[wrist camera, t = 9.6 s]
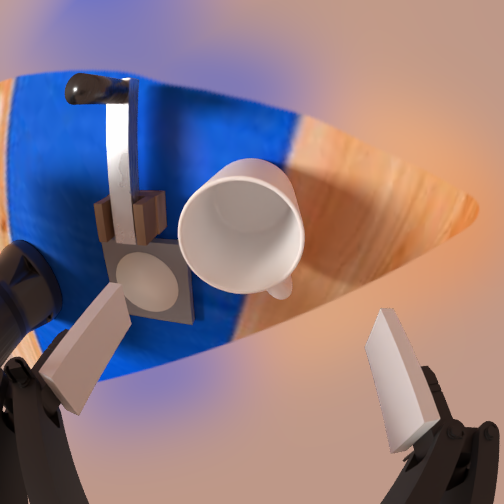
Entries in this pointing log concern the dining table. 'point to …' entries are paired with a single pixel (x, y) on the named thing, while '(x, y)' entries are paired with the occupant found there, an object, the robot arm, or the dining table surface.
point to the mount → (135, 217)
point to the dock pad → (152, 279)
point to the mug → (244, 230)
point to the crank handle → (115, 142)
